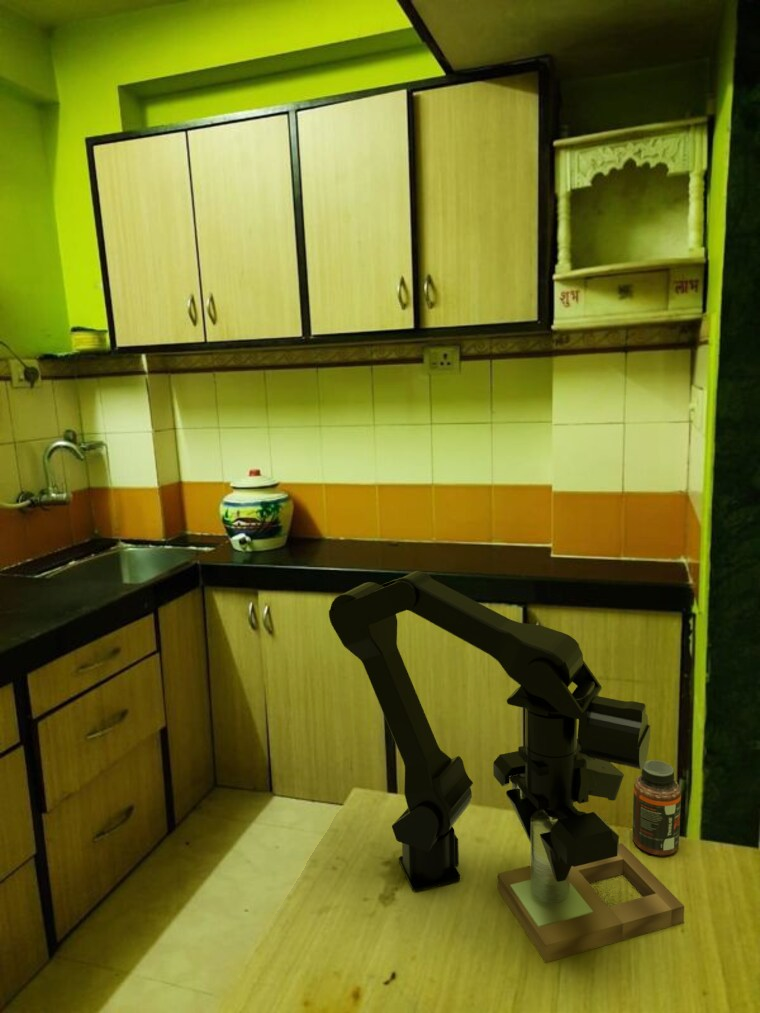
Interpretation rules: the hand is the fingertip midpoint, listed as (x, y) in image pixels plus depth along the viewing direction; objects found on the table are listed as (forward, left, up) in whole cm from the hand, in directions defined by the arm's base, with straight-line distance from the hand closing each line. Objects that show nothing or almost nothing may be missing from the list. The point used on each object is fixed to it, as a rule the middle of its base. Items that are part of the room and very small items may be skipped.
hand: (550, 866), depth 83 cm
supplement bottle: (+20, +7, -7) cm, 22 cm away
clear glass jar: (0, 0, -3) cm, 3 cm away
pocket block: (+5, 0, -6) cm, 8 cm away
